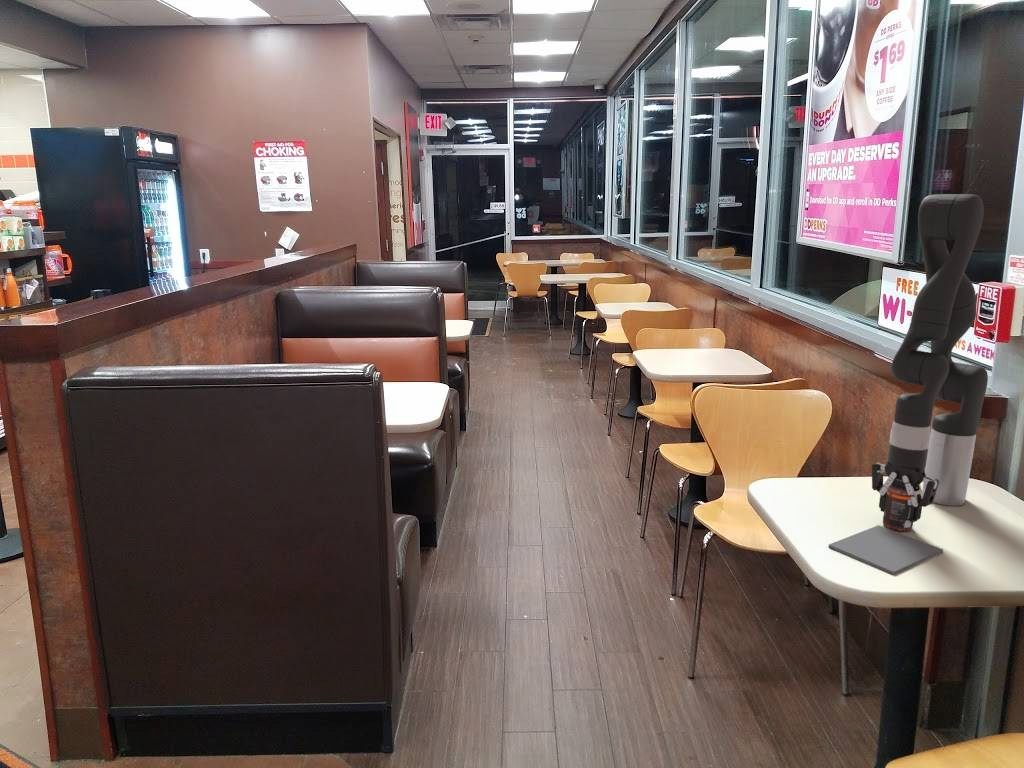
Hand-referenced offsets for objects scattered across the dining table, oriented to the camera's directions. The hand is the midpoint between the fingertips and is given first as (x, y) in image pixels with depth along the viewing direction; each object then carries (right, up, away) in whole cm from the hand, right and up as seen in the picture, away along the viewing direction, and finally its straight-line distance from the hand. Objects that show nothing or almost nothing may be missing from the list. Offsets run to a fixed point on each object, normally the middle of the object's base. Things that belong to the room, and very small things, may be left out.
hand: (898, 515), depth 167 cm
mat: (-8, -5, -10) cm, 14 cm away
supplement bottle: (0, -3, +1) cm, 3 cm away
